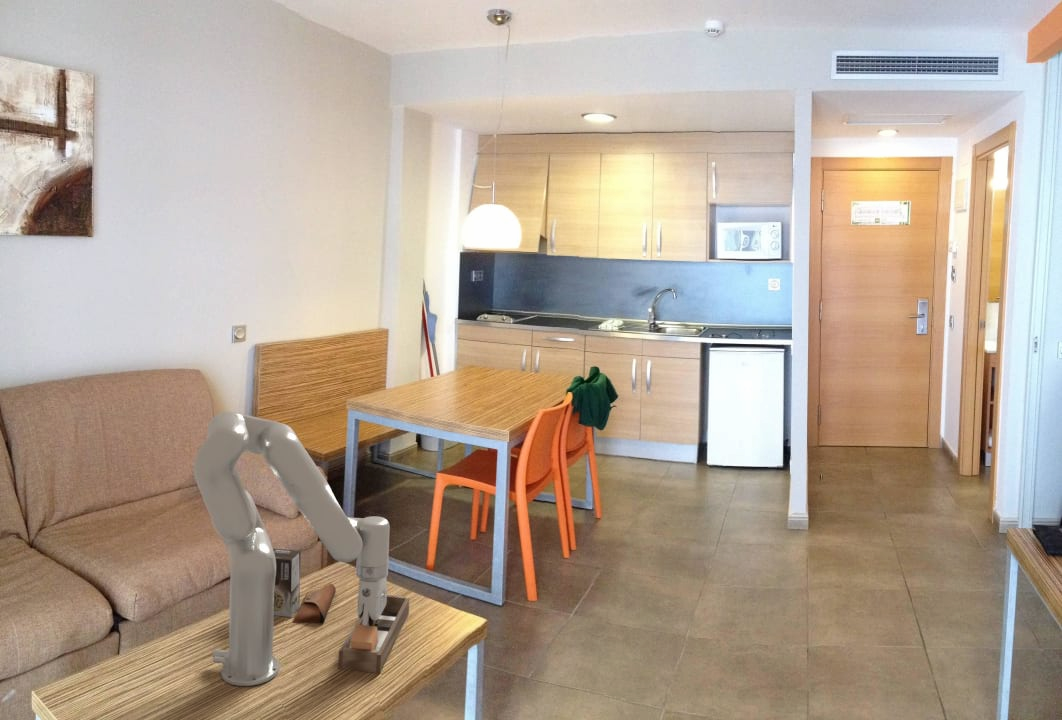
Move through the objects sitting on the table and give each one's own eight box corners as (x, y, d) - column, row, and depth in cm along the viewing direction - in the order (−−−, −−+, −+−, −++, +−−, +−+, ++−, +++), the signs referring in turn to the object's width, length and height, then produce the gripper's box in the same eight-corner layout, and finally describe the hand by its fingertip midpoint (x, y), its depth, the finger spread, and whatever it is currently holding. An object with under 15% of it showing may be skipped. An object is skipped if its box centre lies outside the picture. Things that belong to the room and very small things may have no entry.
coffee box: (300, 607, 215) (302, 550, 213) (290, 618, 209) (292, 559, 207) (268, 603, 216) (269, 547, 214) (257, 614, 210) (258, 556, 208)
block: (351, 655, 188) (350, 640, 186) (357, 639, 192) (356, 624, 190) (372, 658, 188) (371, 642, 185) (378, 641, 192) (377, 626, 190)
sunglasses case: (305, 592, 224) (318, 573, 223) (326, 605, 225) (339, 586, 225) (291, 623, 206) (305, 603, 206) (314, 636, 207) (328, 616, 207)
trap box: (338, 668, 187) (339, 648, 186) (372, 610, 216) (373, 593, 215) (380, 673, 186) (381, 653, 185) (408, 614, 216) (409, 596, 215)
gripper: (379, 583, 183) (377, 657, 186) (395, 557, 198) (392, 626, 201) (347, 580, 184) (345, 654, 186) (365, 555, 198) (363, 623, 201)
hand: (369, 639), depth 194 cm, fingers closed
